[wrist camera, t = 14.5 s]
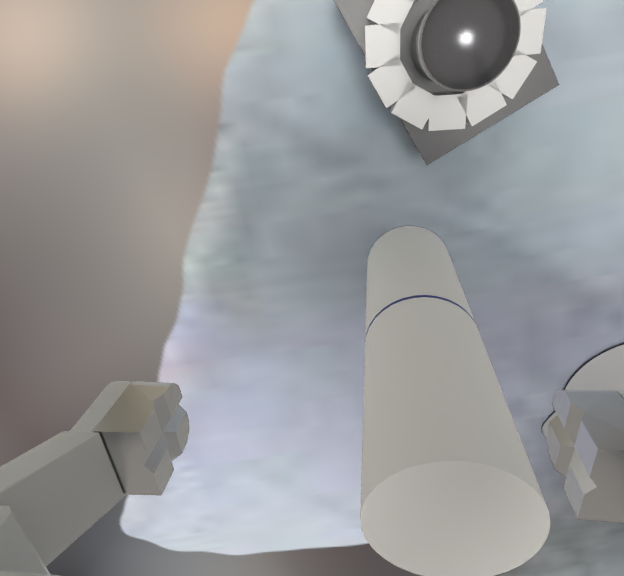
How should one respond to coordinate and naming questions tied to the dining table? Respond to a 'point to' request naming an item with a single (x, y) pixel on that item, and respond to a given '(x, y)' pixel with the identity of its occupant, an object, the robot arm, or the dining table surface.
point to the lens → (465, 42)
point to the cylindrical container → (438, 425)
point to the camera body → (430, 96)
